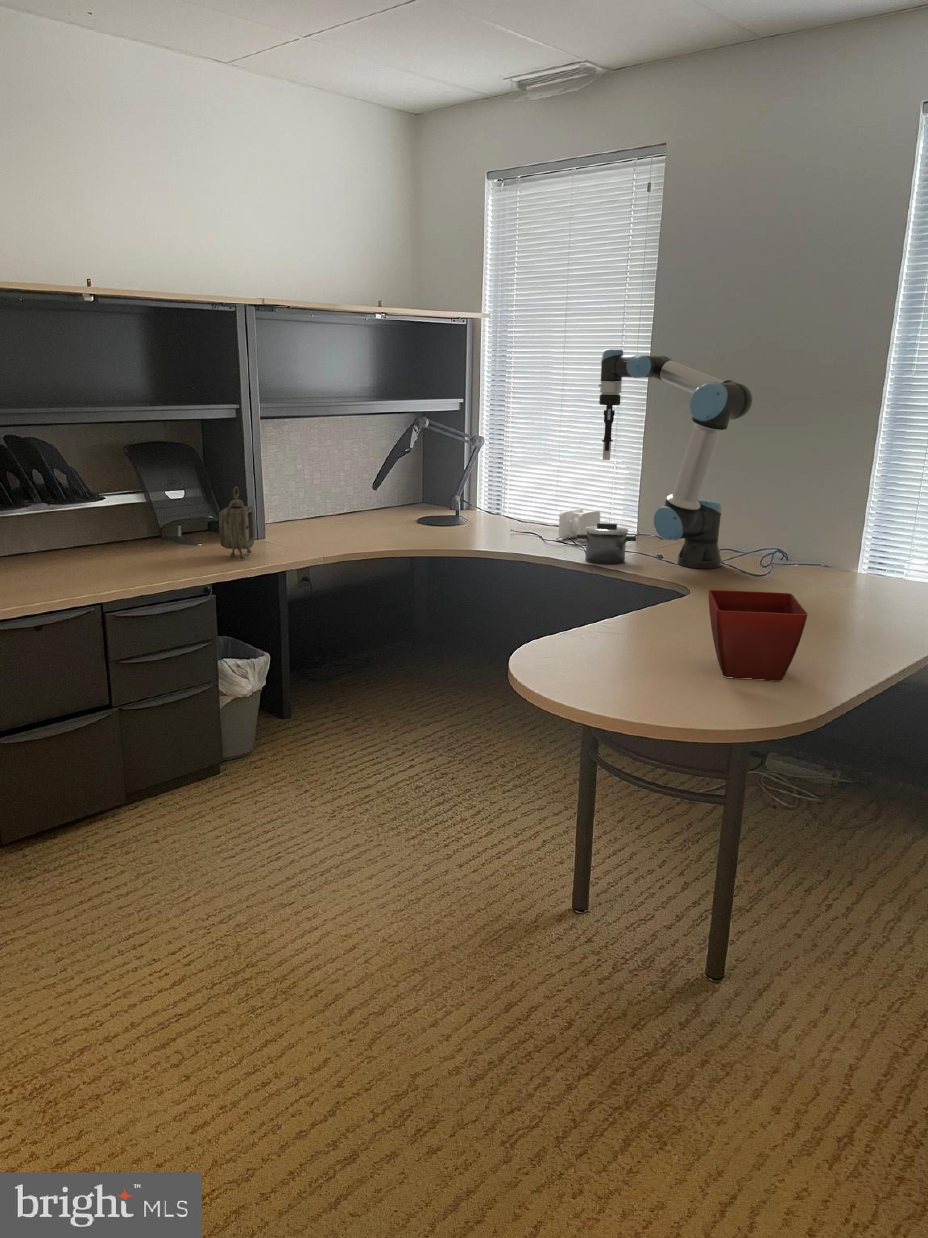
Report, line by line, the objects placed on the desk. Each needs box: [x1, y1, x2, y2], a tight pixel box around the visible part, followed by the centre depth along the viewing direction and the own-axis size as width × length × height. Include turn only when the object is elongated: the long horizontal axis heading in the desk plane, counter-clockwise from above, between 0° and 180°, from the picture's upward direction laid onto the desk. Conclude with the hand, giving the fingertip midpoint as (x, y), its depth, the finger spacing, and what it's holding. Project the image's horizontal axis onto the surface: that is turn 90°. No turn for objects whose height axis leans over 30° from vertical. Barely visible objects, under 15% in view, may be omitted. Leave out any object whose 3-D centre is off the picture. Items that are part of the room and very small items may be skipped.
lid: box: [586, 522, 629, 535], centre depth 321 cm, size 15×15×3 cm
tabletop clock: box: [218, 486, 255, 560], centre depth 316 cm, size 14×9×25 cm, turn 0°
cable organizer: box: [558, 508, 601, 543], centre depth 363 cm, size 15×11×12 cm
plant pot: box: [708, 589, 809, 682], centre depth 205 cm, size 19×19×17 cm
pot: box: [576, 533, 637, 566], centre depth 323 cm, size 19×14×10 cm
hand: (606, 459), depth 331 cm, fingers closed
